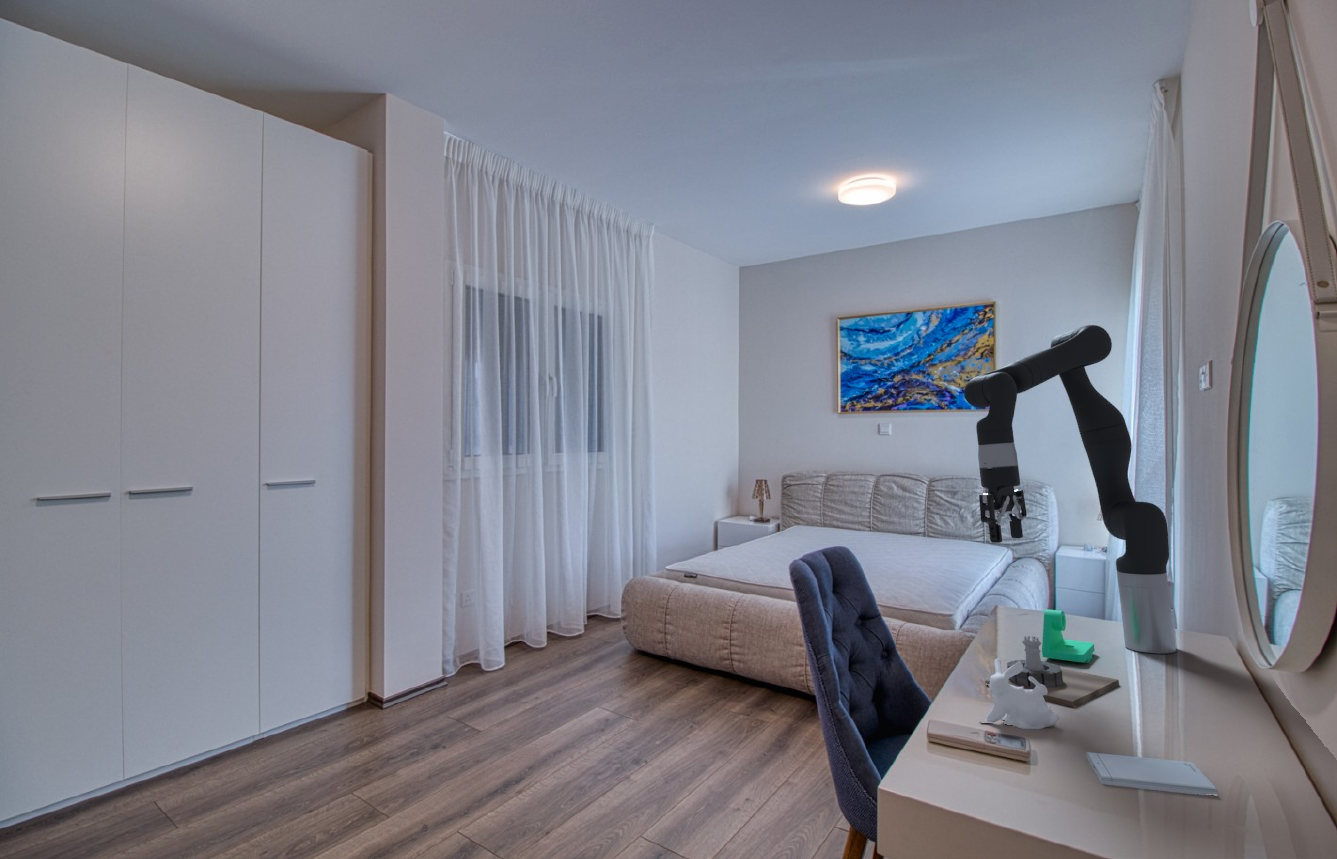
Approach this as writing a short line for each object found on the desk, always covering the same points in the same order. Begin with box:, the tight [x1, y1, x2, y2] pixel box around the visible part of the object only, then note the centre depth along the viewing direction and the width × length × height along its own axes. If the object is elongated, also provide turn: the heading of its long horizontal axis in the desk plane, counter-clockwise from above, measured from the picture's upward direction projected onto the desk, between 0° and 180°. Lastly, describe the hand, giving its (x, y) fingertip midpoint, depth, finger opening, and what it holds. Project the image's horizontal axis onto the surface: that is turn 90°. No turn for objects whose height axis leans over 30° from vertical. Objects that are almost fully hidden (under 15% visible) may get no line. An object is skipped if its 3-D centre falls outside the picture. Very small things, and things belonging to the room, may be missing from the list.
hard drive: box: [1086, 751, 1219, 796], centre depth 85 cm, size 2×8×12 cm
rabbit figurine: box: [984, 658, 1060, 730], centre depth 106 cm, size 12×8×10 cm, turn 62°
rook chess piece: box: [1021, 635, 1045, 671], centre depth 122 cm, size 4×4×8 cm
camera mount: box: [1041, 608, 1096, 664], centre depth 139 cm, size 12×8×10 cm, turn 136°
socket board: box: [984, 659, 1120, 708], centre depth 121 cm, size 18×16×4 cm
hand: (1006, 540), depth 134 cm, fingers open, 8 cm apart
